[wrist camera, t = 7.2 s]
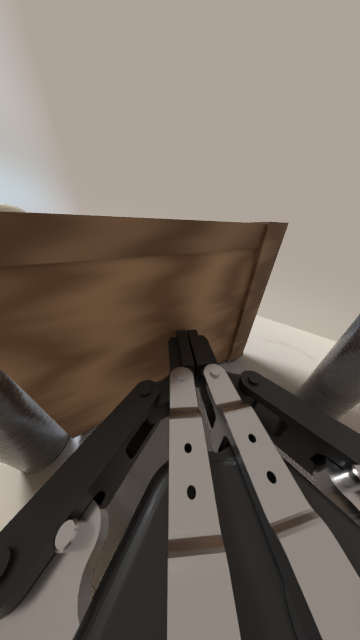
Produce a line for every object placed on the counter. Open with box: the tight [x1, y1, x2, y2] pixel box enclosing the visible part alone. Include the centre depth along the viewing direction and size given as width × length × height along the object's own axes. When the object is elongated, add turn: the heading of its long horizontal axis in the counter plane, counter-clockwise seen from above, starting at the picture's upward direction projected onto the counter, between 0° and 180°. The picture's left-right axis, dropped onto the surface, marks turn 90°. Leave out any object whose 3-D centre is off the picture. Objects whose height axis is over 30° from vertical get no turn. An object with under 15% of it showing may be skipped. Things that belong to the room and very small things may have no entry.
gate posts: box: [0, 315, 360, 473], centre depth 8 cm, size 26×3×17 cm, turn 97°
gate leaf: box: [0, 211, 288, 438], centre depth 12 cm, size 19×2×15 cm, turn 119°
